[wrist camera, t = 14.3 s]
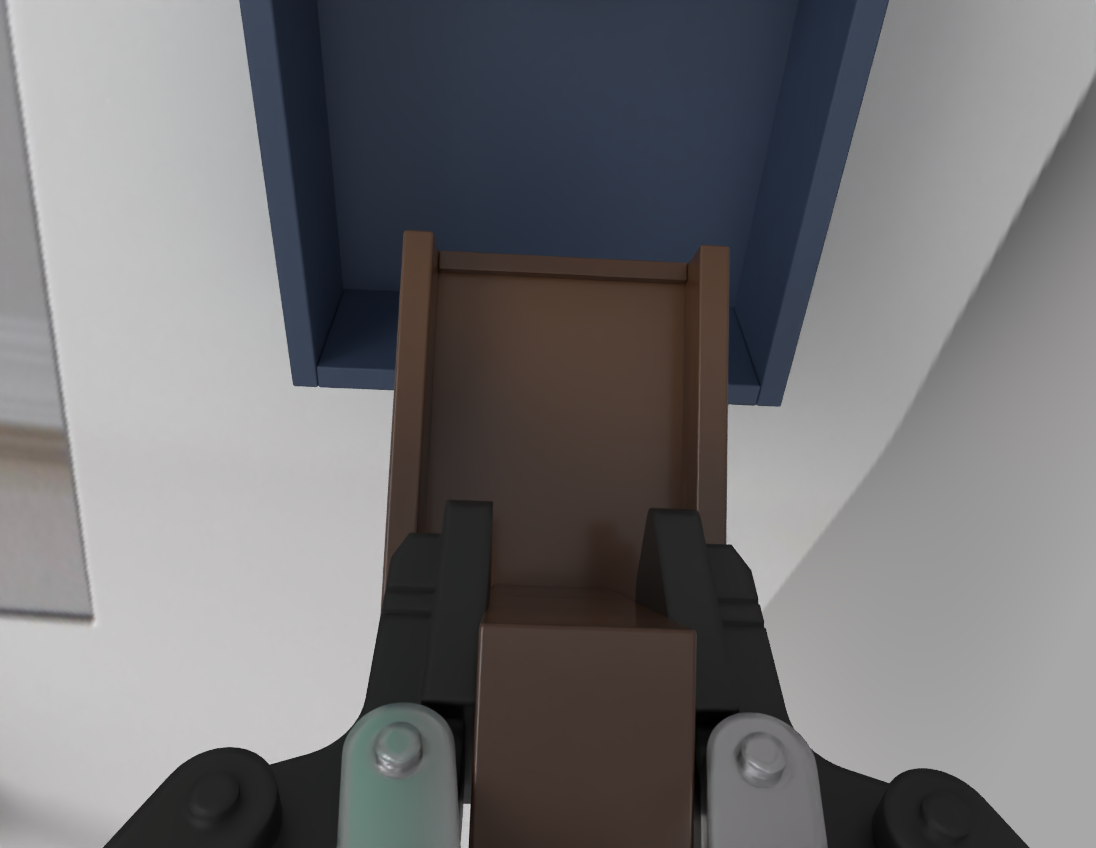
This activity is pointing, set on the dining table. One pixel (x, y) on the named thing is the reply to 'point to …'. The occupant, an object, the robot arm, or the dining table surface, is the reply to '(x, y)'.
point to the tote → (551, 152)
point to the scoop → (567, 518)
